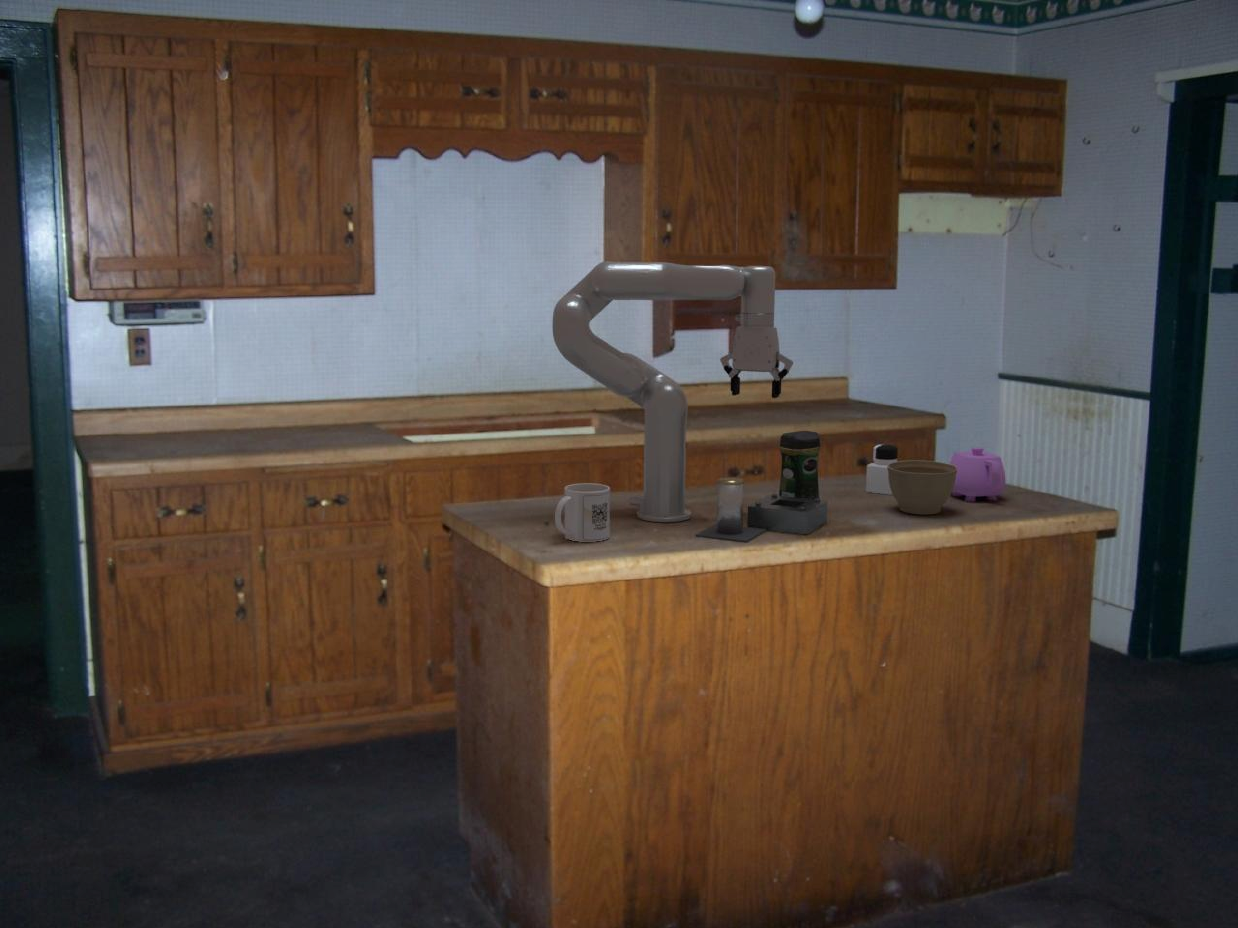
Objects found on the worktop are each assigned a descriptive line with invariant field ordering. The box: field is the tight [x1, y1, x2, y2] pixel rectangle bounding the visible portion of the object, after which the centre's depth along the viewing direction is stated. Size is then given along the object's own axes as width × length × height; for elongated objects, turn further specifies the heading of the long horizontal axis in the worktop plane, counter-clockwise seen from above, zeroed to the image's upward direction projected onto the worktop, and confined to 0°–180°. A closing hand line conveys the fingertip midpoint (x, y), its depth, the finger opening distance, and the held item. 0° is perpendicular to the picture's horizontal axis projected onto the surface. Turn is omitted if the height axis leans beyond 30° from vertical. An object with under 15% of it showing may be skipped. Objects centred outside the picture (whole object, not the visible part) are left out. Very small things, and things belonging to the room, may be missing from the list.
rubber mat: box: [695, 523, 768, 543], centre depth 282 cm, size 12×12×1 cm
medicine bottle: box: [865, 443, 899, 496], centre depth 328 cm, size 7×7×12 cm
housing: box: [746, 493, 829, 535], centre depth 290 cm, size 14×14×6 cm
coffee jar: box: [778, 430, 821, 499], centre depth 308 cm, size 10×8×19 cm
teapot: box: [949, 446, 1006, 502], centre depth 322 cm, size 20×12×13 cm, turn 15°
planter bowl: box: [887, 459, 957, 516], centre depth 305 cm, size 16×16×11 cm
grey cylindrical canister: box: [716, 477, 745, 535], centre depth 281 cm, size 6×6×12 cm
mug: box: [554, 482, 611, 543], centre depth 276 cm, size 10×12×11 cm
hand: (755, 396), depth 294 cm, fingers open, 9 cm apart
